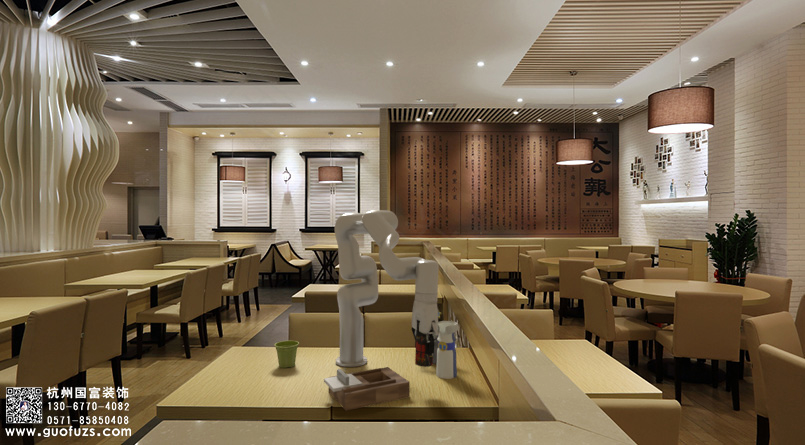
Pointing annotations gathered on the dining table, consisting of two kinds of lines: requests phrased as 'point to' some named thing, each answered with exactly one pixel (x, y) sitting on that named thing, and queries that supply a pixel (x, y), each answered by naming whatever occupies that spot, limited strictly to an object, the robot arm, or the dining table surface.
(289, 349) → the plant pot
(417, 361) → the deodorant
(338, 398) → the socket block
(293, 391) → the dining table surface
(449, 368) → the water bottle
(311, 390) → the dining table surface
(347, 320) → the robot arm
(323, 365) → the dining table surface
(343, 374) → the panel
